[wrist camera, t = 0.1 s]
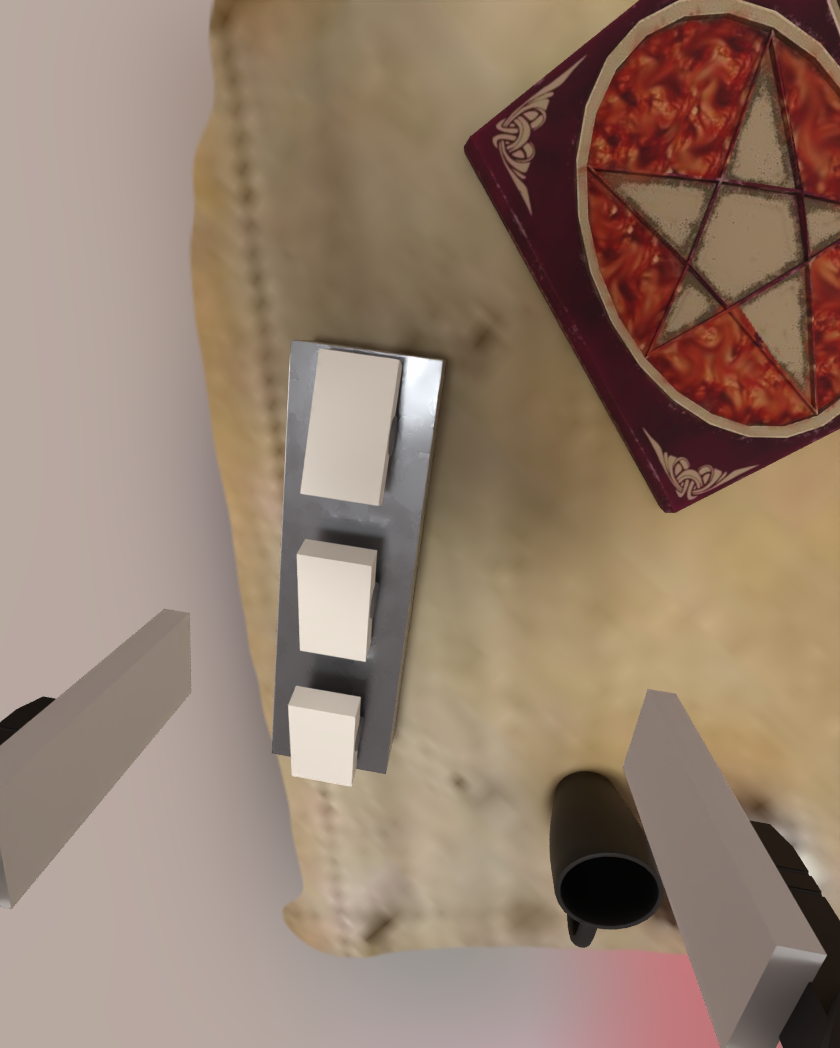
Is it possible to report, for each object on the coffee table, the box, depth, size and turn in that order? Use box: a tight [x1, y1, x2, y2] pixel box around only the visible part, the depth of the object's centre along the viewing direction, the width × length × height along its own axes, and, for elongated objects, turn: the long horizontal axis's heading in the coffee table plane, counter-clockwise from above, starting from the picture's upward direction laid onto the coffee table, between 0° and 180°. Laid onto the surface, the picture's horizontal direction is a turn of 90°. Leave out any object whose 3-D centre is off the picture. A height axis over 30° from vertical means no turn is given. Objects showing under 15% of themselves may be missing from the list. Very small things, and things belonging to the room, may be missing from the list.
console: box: [272, 340, 447, 774], centre depth 42 cm, size 34×10×5 cm, turn 173°
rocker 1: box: [300, 349, 402, 506], centre depth 34 cm, size 9×5×3 cm, turn 172°
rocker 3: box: [288, 686, 363, 787], centre depth 42 cm, size 9×5×3 cm, turn 173°
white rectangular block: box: [297, 539, 379, 662], centre depth 38 cm, size 9×5×3 cm, turn 173°
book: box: [464, 0, 840, 513], centre depth 33 cm, size 28×21×5 cm
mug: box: [550, 772, 664, 948], centre depth 46 cm, size 8×12×10 cm
